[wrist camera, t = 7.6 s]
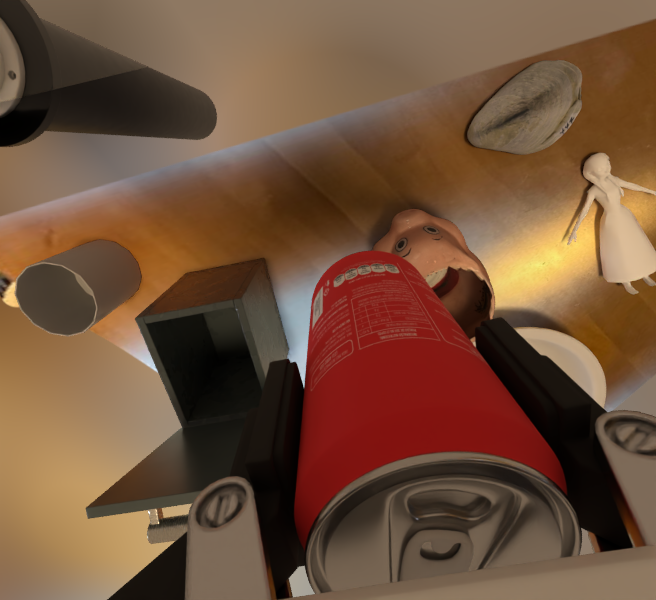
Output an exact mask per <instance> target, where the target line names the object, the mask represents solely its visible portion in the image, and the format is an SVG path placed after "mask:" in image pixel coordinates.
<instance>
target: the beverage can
mask: <svg viewBox="0 0 656 600" xmlns="http://www.w3.org/2000/svg"><path fill="white" fill-rule="evenodd" d="M294 519H295V526H296V531H297V534H298V537H299V540H300V542H301V545H302V547H303V549H304V551H305V556H304V560H305V569H306V574H307V577H308V580H309V583H310V585H311V587H312V589H313V591H314V592H315V594H320V593H326V592H333V591H339V590H346V589H352V588H359V587H366V586H372V585H379V584H385V583H392V582H399V581H406V580H412V579H419V578H426V577H433V576H440V575H446V574H453V573H460V572H467V571H474V570H481V569H488V568H495V567H501V566H508V565H515V564H522V563H529V562H536V561H543V560H550V559H557V558H564V557H572V556H579V554H580V550H581V543H582V531H581V525H580V521H579V517H578V514H577V512H576V510H575V508H574V506H573V504H572V502H571V501H570V499H569V498H568V496H567V486H566V480H565V476H564V472H563V469H562V467H561V465H560V462H559V460H558V458H557V457H556V455H555V453H554V452H553V450H552V449H551V448H550V446H549V445H548V443H547V442H546V441H545V439H544V438H543V437H542V435H541V434H540V433H539V431H538V430H537V429H536V427H535V426H534V425H533V423H532V422H531V421H530V419H529V418H528V417H527V415H526V414H525V413H524V411H523V410H522V409H521V407H520V406H519V405H518V403H517V402H516V401H515V399H514V398H513V397H512V395H511V394H510V393H509V391H508V390H507V389H506V387H505V386H504V385H503V383H502V382H501V381H500V379H499V378H498V377H497V375H496V374H495V373H494V371H493V370H492V369H491V367H490V366H489V365H488V363H487V362H486V361H485V359H484V358H483V357H482V355H481V354H480V353H479V351H478V350H477V349H476V347H475V346H474V345H473V343H472V342H471V341H470V339H469V338H468V337H467V335H466V334H465V333H464V331H463V330H462V329H461V327H460V326H459V325H458V323H457V322H456V321H455V319H454V318H453V317H452V315H451V314H450V313H449V311H448V310H447V309H446V307H445V306H444V305H443V303H442V302H441V301H440V299H439V298H438V296H437V295H436V294H435V292H434V291H433V290H432V288H431V287H430V286H429V284H428V283H427V282H426V280H425V279H424V278H423V276H422V275H421V274H420V272H419V271H418V270H417V269H416V268H415V267H414V266H413V265H412V264H411V263H409V262H408V261H407V260H405V259H403V258H402V257H400V256H397V255H395V254H392V253H388V252H384V251H363V252H358V253H354V254H351V255H349V256H346V257H344V258H342V259H340V260H339V261H337V262H336V263H335V264H333V265H332V266H331V267H330V268H329V269H328V270H327V271H326V272H325V273H324V274H323V275H322V277H321V278H320V280H319V282H318V283H317V285H316V288H315V290H314V293H313V298H312V305H311V316H310V328H309V340H308V351H307V363H306V375H305V387H304V398H303V410H302V422H301V433H300V445H299V457H298V468H297V480H296V492H295V504H294Z"/></svg>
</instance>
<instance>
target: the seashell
mask: <svg viewBox="0 0 656 600" xmlns="http://www.w3.org/2000/svg"><path fill="white" fill-rule="evenodd" d="M581 82H582V73H581V71H580V70H579V68H578V67H576V66H575V65H573V64H571V63H569V62H567V61H563V60H556V61H540V62H537V63H534V64H533V65H531V66H530V67H528V68H527V69H525V70H524V71H522V72H521V73H519V74H518V75H516V76H515V77H514V78H513V79H511V80H510V81H509V82H508V83H507V84H506V85H505V86H503V87H502V88H501V89H500V90H499V91H498V92H497V93H496V94H495V95H494V96H493V97H492V98H491V99H490V100H489V101H488V102H487V103H486V104H485V106H484V107H483V108H482V109H481V110H480V111H479V112H478V114H477V115H476V116H475V117H474V119H473V121H472V122H471V124H470V127H469V130H468V132H467V137H468V140H469V142H470V143H471V144H472V145H474V146H475V147H478V148H486V149H492V150H497V151H505V152H509V153H513V154H529V153H534V152H537V151H540V150H543V149H545V148H547V147H548V146H550V145H552V144H553V143H554V142H555V141H557V140H558V139H559V138H560V137H561V136H562V135H563V134H564V133H565V132H566V131H567V130H568V129H569V127H570V126H571V125H572V123H573V121H574V120H575V117H576V116H577V115H578V113H579V112H580V110H581V106H582V101H581Z"/></svg>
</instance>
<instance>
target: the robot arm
mask: <svg viewBox="0 0 656 600" xmlns="http://www.w3.org/2000/svg"><path fill="white" fill-rule="evenodd" d="M24 87H25V67H24V61H23V57H22V54H21V51H20V48H19V45H18V44H17V42H16V40H15V38H14V36H13V34H12V32H11V31H10V29H9V28H8V27H7V25H6V24H5V22H4V21H3V20H2V19H1V18H0V118H2V117H4V116H6V115H8V114H9V113H10V112H12V111H13V110H14V109H15V108H16V106H17V105H18V104H19V102H20V100H21V98H22V95H23V93H24ZM475 342H476V349H477V350H478V351H479V353H480V354H481V355H482V357H483V358H484V359H485V361H486V362H487V363H488V365H489V366H490V367H491V369H492V370H493V371H494V373H495V374H496V375H497V377H498V378H499V379H500V381H501V382H502V383H503V385H504V386H505V387H506V389H507V390H508V391H509V393H510V394H511V395H512V397H513V398H514V399H515V401H516V402H517V403H518V405H519V406H520V407H521V409H522V410H523V411H524V413H525V414H526V415H527V417H528V418H529V419H530V421H531V422H532V423H533V425H534V426H535V427H536V429H537V430H538V431H539V433H540V434H541V435H542V437H543V438H544V439H545V441H546V442H547V443H548V445H549V446H550V448H551V449H552V450H553V452H554V453H555V455H556V457H557V458H558V460H559V462H560V465H561V467H562V469H563V472H564V476H565V480H566V486H567V496H568V498H569V499H570V501H571V502H572V504H573V506H574V508H575V510H576V512H577V514H578V517H579V521H580V525H581V528H583V529H585V530H587V531H588V536H589V540H590V543H591V546H592V549H593V552H594V553H593V554H586V555H579V556H572V557H564V558H557V559H550V560H543V561H536V562H529V563H522V564H515V565H508V566H501V567H495V568H488V569H481V570H474V571H467V572H460V573H453V574H446V575H440V576H433V577H426V578H419V579H412V580H406V581H399V582H392V583H385V584H379V585H372V586H366V587H359V588H352V589H346V590H339V591H333V592H326V593H320V594H313V595H306V596H300V597H294V598H293V596H292V592H291V587H290V583H289V579H288V578H289V577H290V576H291V575H292V574H293V573H294V571H295V570H296V569H297V567H299V566H305V560H304V556H305V551H304V549H303V547H302V545H301V542H300V540H299V537H298V534H297V531H296V526H295V519H294V504H295V492H296V480H297V468H298V457H299V445H300V433H301V422H302V410H303V398H304V387H303V383H302V380H301V376H300V373H299V369H298V366H297V363H296V362H292V363H290V360H289V359H283V360H278V361H273V362H270V364H269V368H268V372H267V376H266V380H265V384H264V388H263V392H262V396H261V400H260V404H259V407H258V408H253V409H250V410H249V411H248V413H247V416H246V420H245V423H244V427H243V430H242V434H241V437H240V441H239V444H238V448H237V451H236V455H235V458H234V462H233V465H232V469H231V472H230V476H229V477H226V478H223V479H219V480H217V481H216V482H214V483H212V484H210V485H209V486H208V487H206V488H205V489H204V490H203V491H201V493H200V494H199V495H198V496H197V497H196V498H195V500H194V502H193V504H192V506H191V507H190V510H189V515H188V528H187V532H186V533H184V534H183V535H182V536H181V537H180V538H179V539H177V540H176V541H175V542H174V543H173V544H172V545H170V546H169V547H168V548H167V549H166V550H165V551H164V552H162V553H161V554H160V555H159V556H158V557H156V558H155V559H154V560H153V561H152V562H151V563H149V564H148V565H147V566H146V567H145V568H144V569H143V570H141V571H140V572H139V573H138V574H137V575H136V576H134V577H133V578H132V579H131V580H130V581H129V582H128V583H126V584H125V585H124V586H123V587H122V588H120V589H119V590H118V591H117V592H116V593H115V594H113V595H112V596H111V597H110V598H109V599H108V600H656V417H654V416H652V415H648V414H645V413H641V412H637V411H628V410H618V411H611V412H607V411H606V410H604V409H603V408H602V407H601V406H600V405H599V404H598V403H597V402H596V401H595V400H594V399H593V398H592V397H591V396H590V395H589V394H587V393H586V392H585V391H584V390H583V389H582V388H581V387H580V386H579V385H578V384H577V383H576V382H575V381H574V380H573V379H571V378H570V377H569V376H568V375H567V374H566V373H565V372H564V371H563V370H562V369H561V368H560V367H559V366H558V365H557V364H556V363H554V362H553V361H552V360H551V359H550V358H549V357H547V356H545V355H540V354H539V353H538V352H537V351H536V350H535V349H534V348H533V347H532V346H531V345H530V344H529V343H528V342H527V341H526V340H525V339H524V338H523V337H522V336H521V335H520V334H519V333H518V332H517V331H516V330H515V329H514V328H512V327H511V326H510V325H509V324H508V323H507V322H506V321H505V320H504V319H503V318H496V319H491V320H486V321H482V322H481V324H480V327H476V328H475Z"/></svg>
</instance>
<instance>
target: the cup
mask: <svg viewBox="0 0 656 600" xmlns="http://www.w3.org/2000/svg"><path fill="white" fill-rule="evenodd" d="M140 281H141V273H140V269H139V265H138V262H137V261H136V260H135V258H134V257H133V256H132V254H131V253H130V252H129V251H128V250H127V249H125V248H123V247H122V246H120V245H119V244H117V243H115V242H111V241H106V240H100V239H99V240H96V241H92V242H89V243H86V244H83V245H80V246H78V247H75V248H73V249H70V250H68V251H65V252H63V253H60V254H58V255H55V256H53V257H50V258H47V259H45V260H42V261H40V262H37V263H35V264H32V265H30V266H27V267H26V268H25V269H24V270H23V271H22V273H21V274H20V275H19V276H18V277H17V278H16V286H15V296H16V299H17V302H18V304H19V307H20V309H21V311H22V312H23V313H24V314H25V315H26V316H27V318H28V319H29V320H30V321H31V322H32V323H33V324H34V325H36V326H38V327H39V328H41V329H43V330H45V331H47V332H49V333H50V334H56V335H63V336H72V335H76V334H80V333H84V332H85V331H87V330H88V329H89V328H91V327H92V326H93V325H95V324H96V323H97V322H99V321H100V320H101V319H103V318H104V317H105V316H107V315H108V314H109V313H110V312H112V311H113V310H114V309H116V308H117V307H118V306H120V305H121V304H122V303H124V302H125V301H126V300H128V299H129V298H130V297H131V296H132V295H133V294H134V293H135V292H136V291H137V290H138V289H139V285H140Z"/></svg>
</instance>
